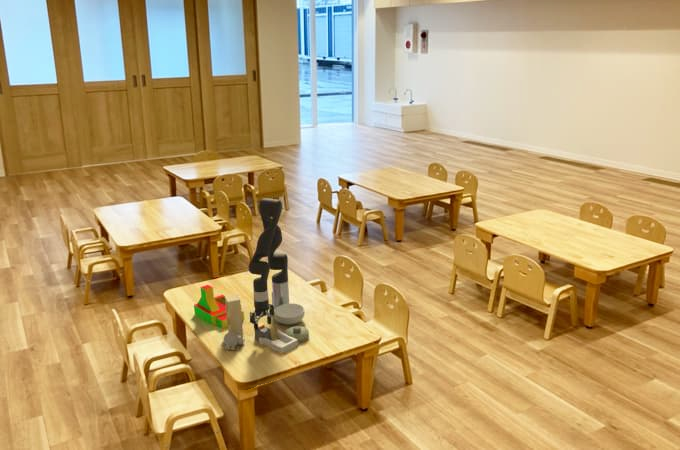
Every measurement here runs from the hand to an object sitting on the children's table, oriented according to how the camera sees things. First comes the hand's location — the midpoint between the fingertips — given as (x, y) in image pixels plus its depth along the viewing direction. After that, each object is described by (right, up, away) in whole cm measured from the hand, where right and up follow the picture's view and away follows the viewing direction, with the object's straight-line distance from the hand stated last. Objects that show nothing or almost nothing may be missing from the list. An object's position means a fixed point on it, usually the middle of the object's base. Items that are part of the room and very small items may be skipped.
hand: (262, 326), depth 313 cm
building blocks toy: (-27, +1, +27) cm, 38 cm away
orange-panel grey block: (0, -7, +3) cm, 7 cm away
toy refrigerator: (-16, -5, +8) cm, 18 cm away
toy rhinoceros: (-14, -10, -5) cm, 18 cm away
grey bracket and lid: (+12, -7, +1) cm, 14 cm away
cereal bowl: (+12, -1, +20) cm, 24 cm away
